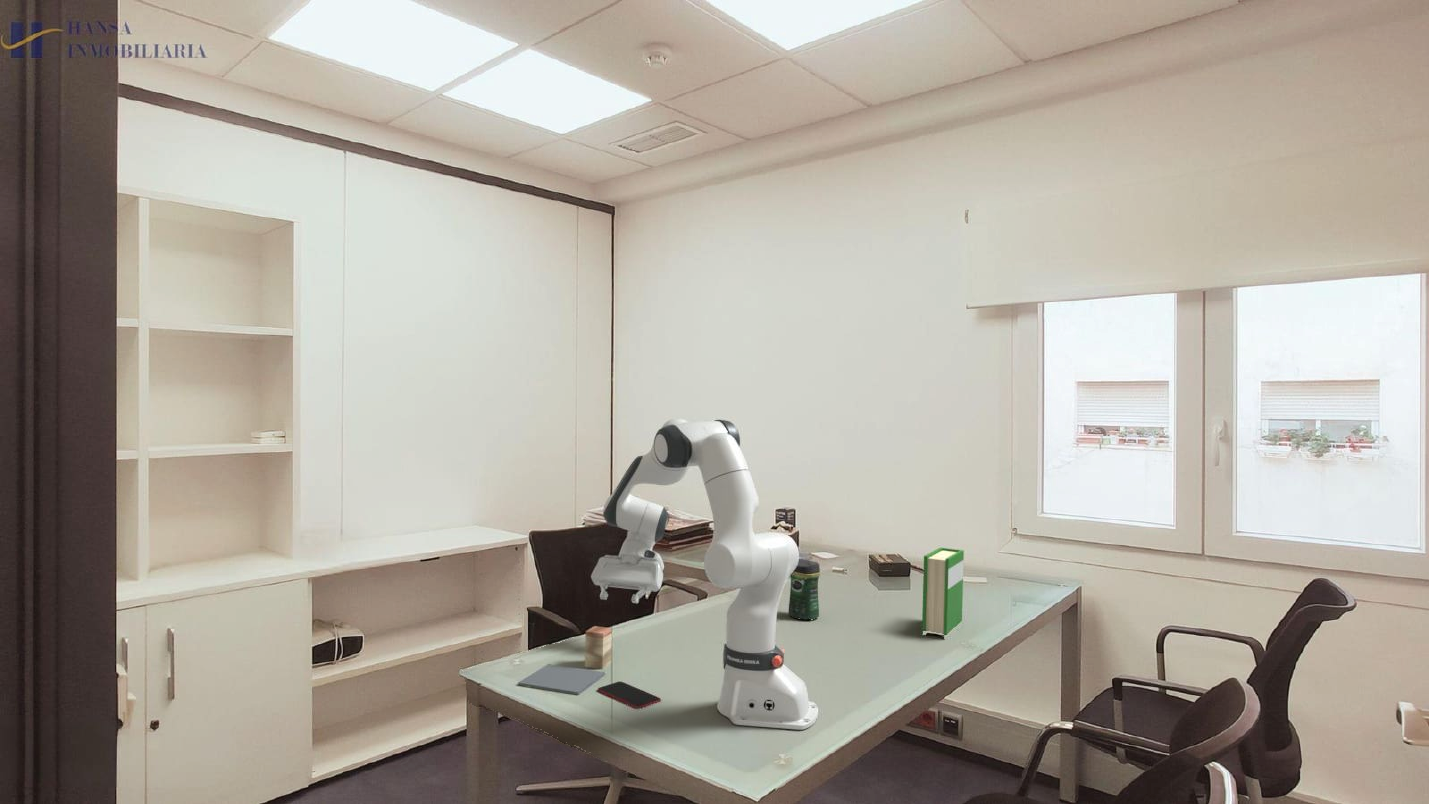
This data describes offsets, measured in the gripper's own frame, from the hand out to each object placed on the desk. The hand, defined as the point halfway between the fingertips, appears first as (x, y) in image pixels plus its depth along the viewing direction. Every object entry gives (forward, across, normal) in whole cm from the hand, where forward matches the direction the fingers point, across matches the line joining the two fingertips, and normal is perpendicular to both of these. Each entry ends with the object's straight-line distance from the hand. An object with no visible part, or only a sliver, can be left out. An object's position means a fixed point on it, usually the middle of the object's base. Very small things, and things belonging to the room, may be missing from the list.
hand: (618, 600), depth 206 cm
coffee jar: (-28, +41, +48) cm, 69 cm away
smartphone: (+30, +16, -9) cm, 35 cm away
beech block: (+18, 0, +2) cm, 18 cm away
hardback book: (-30, +84, +50) cm, 102 cm away
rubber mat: (+27, -3, -7) cm, 28 cm away
